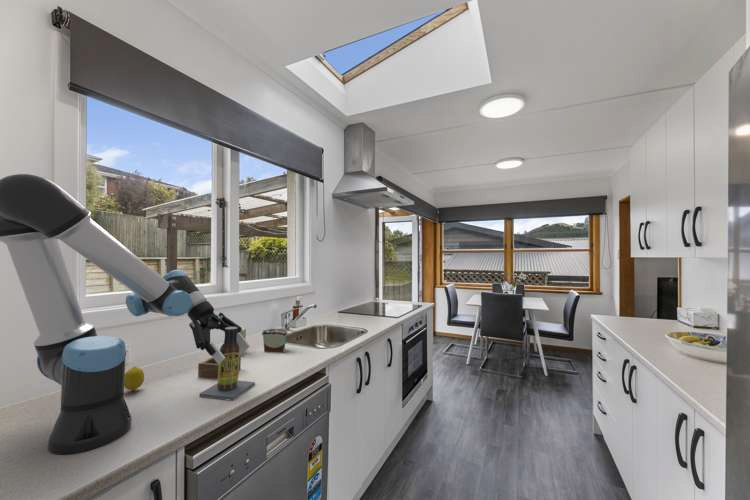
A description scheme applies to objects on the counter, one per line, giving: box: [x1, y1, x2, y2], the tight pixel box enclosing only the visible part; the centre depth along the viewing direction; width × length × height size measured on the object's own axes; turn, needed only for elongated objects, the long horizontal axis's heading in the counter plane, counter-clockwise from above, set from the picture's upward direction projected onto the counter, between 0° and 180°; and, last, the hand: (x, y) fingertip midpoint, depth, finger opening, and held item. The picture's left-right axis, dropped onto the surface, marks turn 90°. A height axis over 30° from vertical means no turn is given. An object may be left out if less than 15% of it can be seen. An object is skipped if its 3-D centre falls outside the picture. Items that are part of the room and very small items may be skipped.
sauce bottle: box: [216, 327, 240, 390], centre depth 103 cm, size 6×6×20 cm
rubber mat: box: [198, 379, 256, 401], centre depth 103 cm, size 12×12×1 cm
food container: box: [261, 328, 288, 354], centre depth 147 cm, size 12×6×10 cm, turn 84°
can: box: [238, 326, 247, 357], centre depth 141 cm, size 9×9×12 cm
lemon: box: [124, 366, 145, 392], centre depth 101 cm, size 6×6×8 cm
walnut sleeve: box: [197, 356, 242, 380], centre depth 118 cm, size 10×10×5 cm
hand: (235, 354), depth 103 cm, fingers open, 13 cm apart
